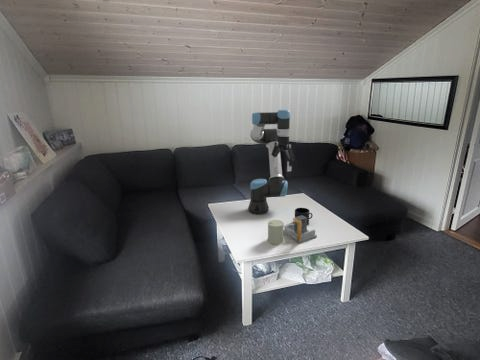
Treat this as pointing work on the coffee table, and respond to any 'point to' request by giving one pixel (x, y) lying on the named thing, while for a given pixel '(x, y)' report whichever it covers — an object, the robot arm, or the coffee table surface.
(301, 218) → the dark gray box
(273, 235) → the can
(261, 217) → the coffee table surface
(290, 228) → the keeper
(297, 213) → the mug
